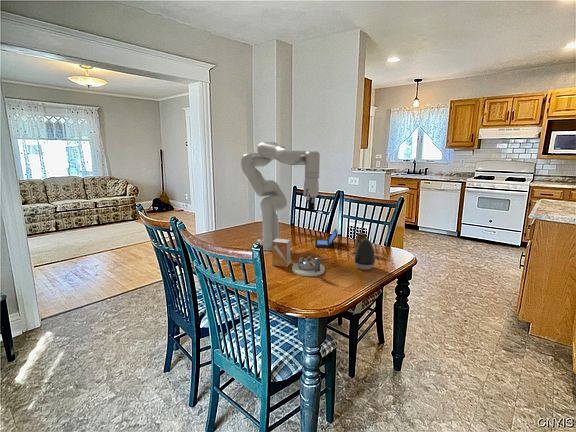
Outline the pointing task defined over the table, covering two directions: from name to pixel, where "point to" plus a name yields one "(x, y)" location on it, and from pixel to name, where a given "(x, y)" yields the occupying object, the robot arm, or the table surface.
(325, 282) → the table surface
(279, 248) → the small box
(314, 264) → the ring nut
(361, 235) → the condiment
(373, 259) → the pump dispenser
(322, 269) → the cap plate
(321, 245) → the handheld game console
